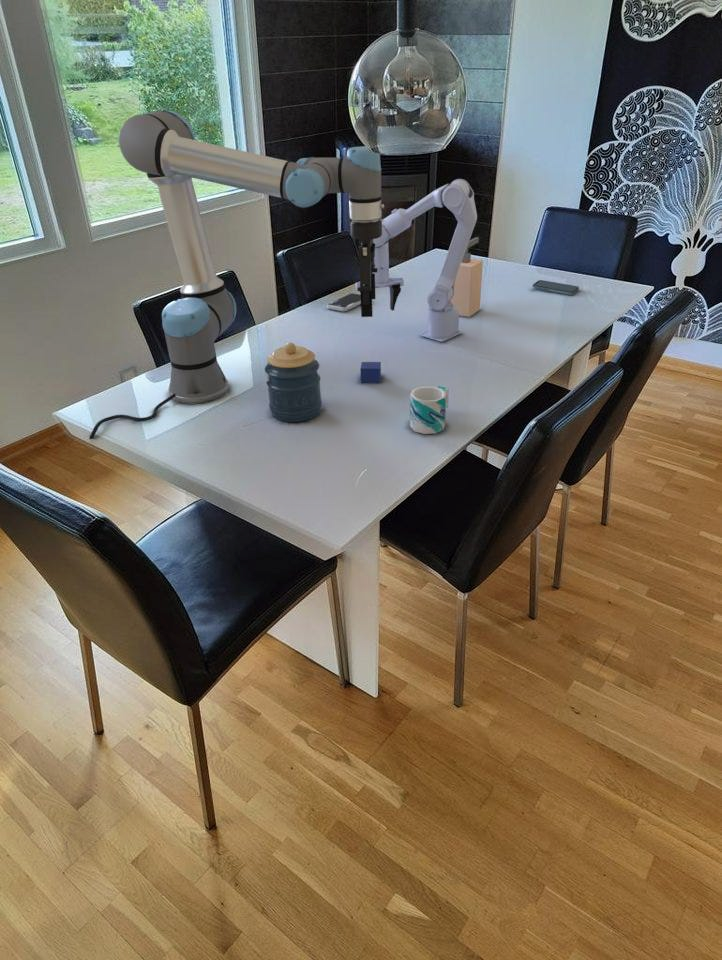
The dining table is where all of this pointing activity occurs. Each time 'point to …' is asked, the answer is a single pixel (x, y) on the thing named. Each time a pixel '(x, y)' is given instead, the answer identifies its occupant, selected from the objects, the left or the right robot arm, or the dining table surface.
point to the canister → (293, 384)
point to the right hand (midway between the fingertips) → (380, 310)
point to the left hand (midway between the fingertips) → (368, 307)
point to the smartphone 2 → (555, 287)
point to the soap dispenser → (468, 284)
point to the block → (370, 372)
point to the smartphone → (345, 302)
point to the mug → (428, 409)
